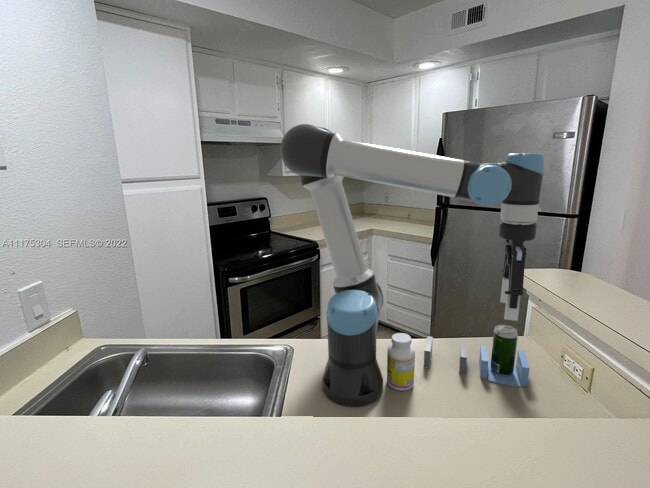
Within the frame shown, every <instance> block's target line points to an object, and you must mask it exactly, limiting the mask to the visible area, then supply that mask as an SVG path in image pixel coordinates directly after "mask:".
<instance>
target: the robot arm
mask: <svg viewBox="0 0 650 488" xmlns="http://www.w3.org/2000/svg"><path fill="white" fill-rule="evenodd" d="M279 147H280V148H279V151H280V152H279V153H280V158H281V160H282V162H283V164H284V166H285V167H286V168H287V169H288V170H289V171H290V172H291V173H293V174H295V175H298V176H299V179H300V183H301V185H302V187H303V188H304V189H306V190H308V191H309V193H310V194H311V198H312V201H313V205H314V207H315V211H316V215H317V219H318V222H319V225H320V228H321V231H322V235H323V238H324V242H325V244H326V248H327V251H328V254H329V257H330V261H331V263H332V264H331V265H332V268H333V270H334V274H335V278H334V279H333V281H332V286H333V290H334V293H335V294H333V295H332V296H331V297H330V299H329V300H328V302H327V306H326V307H327V308H326V312H325V313H326V321H327V322H326V324H327V325H326V326H327V352H328V358H327V361H326V365H325V368H324V370H323V373H322V378H321V386H322V392H323V394H324V393H325V394H324V395H325V396H326V398H328V399H329V400H330V401H331V402H334V403H335V404H338V405H339V406H344V407H353V408H355V407H362V406H368V405H369V404H372V403H374V402H376V401H377V400H378V399H379V398H380V397H381V396H382V394H383V390H384V379H383V374H382V371H381V369H380V366H379V363H378V359H377V331H378V324H379V319H380V317H381V315H380V314H381V311H382V308H383V306H384V305H383V304H384V293H383V289H382V287H381V285H380V284H379V282H378V281H377V280H376V276H375V274H374V273H375V272H374V270H372V269H370V268H368V267H367V266H366V262H365V258H364V254H363V251H362V247H361V245H360V244H361V243H360V240H359V237H358V235H357V230H356V226H355V223H354V219H353V216H352V212H351V210H350V209H351V208H350V205H349V203H348V199H347V195H346V191H345V189H344V186H343V184H344V183H343V179H344V178H350V179H355V180H360V181H367V182H370V183H376V184H382V185H387V186H391V187H397V188H401V189H408V190H413V191H419V192H423V193H429V194H435V195H438V196H443V197H444V196H445V197H450V198H455V199H460V200H463V201H469V202H473V203H476V204H477V205H480V206H481V205H482V206H495V205H497V204H499V203H500V204H501V206H500V208H501V209H500V216H499V217H500V218H499V219H500V220H502V221H500V223H499V230H498V236H499V238H501V239H503V240H505V242H506V243H505V244H504V250H505V251H504V258H503V265H502V270H501V272H502V282H501V283H502V284H501V293H500V303H501V304H502V303H503V304H505V307H504V320H507V321H515V322H518V320H519V312H520V304H521V296H523V295H524V279H525V265H526V257H527V247H525V245H524V242H526V241H527V242H529V241H534V240H535V239H536V236H537V235H536V233H537V227H538V226H537V224H536V222H537V221H538V217H539V214H538V213H539V212H540V213H541V212H542V208H541V207H540V199H541V192H542V184H543V177H544V175H545V173H544V169H545V167H544V166H545V156H544V155H543V153H540V152H527V153H526V152H525V153H524V152H522V153H519V152H518V153H509V154H507V155H506V158H505V160H504V162H476V161H470V160H469V161H468V160H464V159H459V158H452V157H448V156H447V157H446V156H441V155H435V154H429V153H423V152H418V151H417V152H416V151H411V150H407V149H401V148H394V147H389V146H382V145H379V144H378V145H377V144H371V143H365V142H360V141H359V142H358V141H354V140H348V139H343V138H342V136H341V135H340V134H339V133H337V132H333V131H331V130H329V129H327V128H326V127H320V126H316V125H314V124H310V123H309V124H308V123H303V124H302V123H301V124H297V125H295V126H292V128H290V129H289V130H287V131H286V132H285V134H284V135H283V137H282V139H281V142H280V146H279Z"/></svg>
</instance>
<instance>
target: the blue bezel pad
mask: <svg viewBox="0 0 650 488" xmlns="http://www.w3.org/2000/svg"><path fill="white" fill-rule="evenodd" d="M490 366H491V358H490V359H489V358H488V371H487V380H488V382H490V383H495V384H500V385H504V386H510V387H515V388H516V387H517V388H520V382H519V378H518V374H517V369H516V365H515V364H514V371H513V374H512V375H511V376H509V377H502V376H499V375H496V374H495V373H493V372H492V370H491V367H490Z"/></svg>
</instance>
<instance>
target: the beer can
mask: <svg viewBox="0 0 650 488" xmlns="http://www.w3.org/2000/svg"><path fill="white" fill-rule="evenodd" d="M518 335H519V334H518V330H517V329H516V328H515V327H513V326H512V325H506V324H498V325H495V327H494V329H493V335H492V336H493V338H492V346H491V357H490V359H491V366H490V367H491V370H492V372H493V373H495V374H496V375H499V376H502V377H509V376H511V375H512V374H513V371H514V365H515V364H516V363H515V361H516V353H517V344H518Z"/></svg>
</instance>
